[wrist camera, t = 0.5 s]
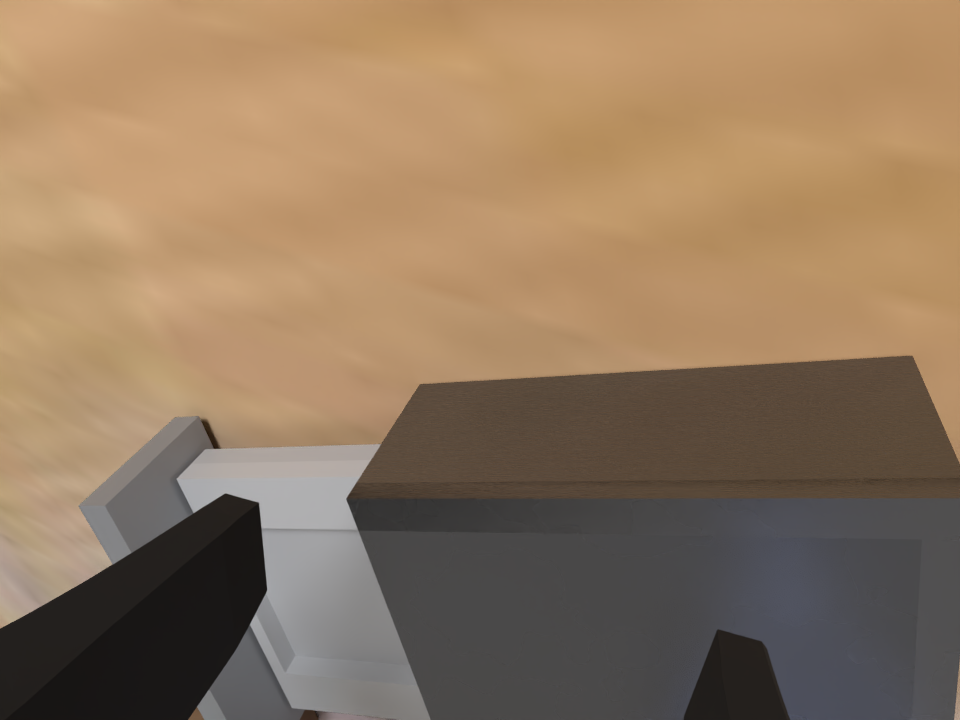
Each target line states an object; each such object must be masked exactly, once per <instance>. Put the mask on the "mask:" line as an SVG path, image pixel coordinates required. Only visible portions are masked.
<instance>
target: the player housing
mask: <svg viewBox="0 0 960 720" xmlns="http://www.w3.org/2000/svg"><path fill="white" fill-rule="evenodd" d="M346 500H347V503H348V505H349V508H350V510H351V513H352V516H353V518H354V521H355V523H356V526H357V529H358V531H359V534H360V536H361V539H362V542H363V544H364V547H365V550H366V552H367V555H368V557H369V560H370V563H371V565H372V568H373V570H374V573H375V576H376V578H377V581H378V583H379V586H380V589H381V591H382V594H383V597H384V599H385V602H386V604H387V607H388V610H389V612H390V615H391V617H392V620H393V623H394V625H395V628H396V630H397V633H398V636H399V638H400V641H401V643H402V646H403V649H404V651H405V654H406V657H407V659H408V662H409V664H410V667H411V670H412V672H413V675H414V677H415V680H416V683H417V685H418V688H419V690H420V693H421V696H422V698H423V701H424V703H425V706H426V709H427V711H428V714H429V717H430V719H431V720H684V714H685V712H686V709H687V707H688V704H689V701H690V699H691V696H692V694H693V691H694V688H695V686H696V683H697V681H698V678H699V675H700V673H701V670H702V668H703V665H704V662H705V660H706V657H707V655H708V652H709V650H710V647H711V644H712V642H713V639H714V637H715V634H716V631H717V629H719V630H723V631H726V632H730V633H734V634H737V635H741V636H745V637H748V638H752V639H755V640H759V641H762V642H763V644H764V645H765V647H766V648H767V650H768V654H769V657H770V660H771V664H772V667H773V670H774V673H775V676H776V680H777V683H778V686H779V689H780V692H781V695H782V698H783V701H784V703H785V706H786V709H787V712H788V715H789V718H790V720H954V714H955V703H956V692H957V682H958V671H959V660H960V464H959V461H958V459H957V457H956V455H955V452H954V450H953V448H952V445H951V443H950V441H949V439H948V436H947V434H946V432H945V429H944V427H943V425H942V422H941V420H940V418H939V416H938V413H937V411H936V409H935V406H934V404H933V402H932V400H931V397H930V395H929V393H928V390H927V388H926V386H925V383H924V381H923V379H922V377H921V374H920V372H919V370H918V367H917V365H916V363H915V361H914V358H913V356H901V357H884V358H867V359H850V360H832V361H815V362H798V363H781V364H764V365H747V366H729V367H712V368H695V369H678V370H661V371H643V372H626V373H609V374H592V375H575V376H557V377H540V378H523V379H506V380H489V381H472V382H454V383H437V384H420V385H419V387H418V388H417V390H416V391H415V393H414V394H413V396H412V397H411V399H410V400H409V402H408V404H407V405H406V407H405V408H404V410H403V411H402V413H401V414H400V416H399V417H398V419H397V421H396V422H395V424H394V425H393V427H392V428H391V430H390V431H389V433H388V435H387V436H386V438H385V439H384V441H383V442H382V444H381V445H380V447H379V448H378V450H377V452H376V453H375V455H374V456H373V458H372V459H371V461H370V462H369V464H368V465H367V467H366V469H365V470H364V472H363V473H362V475H361V476H360V478H359V479H358V481H357V482H356V484H355V486H354V487H353V489H352V490H351V492H350V493H349V495H348V496H347V498H346Z"/></svg>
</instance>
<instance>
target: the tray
mask: <svg viewBox="0 0 960 720" xmlns="http://www.w3.org/2000/svg"><path fill="white" fill-rule="evenodd" d="M380 445H381V444H371V445H336V446H301V447H266V448H231V449H214V448H213V446H212V444H211V441H210V439H209V437H208V435H207V433H206V431H205V429H204V426H203V424H202V422H201V420H200V418H199V416H194V417H175V418H174V419H173V420H172V421H171V422H169V423H168V424H167V425H166V426H165V427H164V428H163V429H162V430H161V431H160V432H159V433H157V434H156V435H155V436H154V437H153V438H152V439H151V440H150V441H149V442H148V443H146V444H145V445H144V446H143V447H142V448H141V449H140V450H139V451H138V452H137V453H136V454H134V455H133V456H132V457H131V458H130V459H129V460H128V461H127V462H126V463H125V464H124V465H122V466H121V467H120V468H119V469H118V470H117V471H116V472H115V473H114V474H113V475H111V476H110V477H109V478H108V479H107V480H106V481H105V482H104V483H103V484H102V485H101V486H99V487H98V488H97V489H96V490H95V491H94V492H93V493H92V494H91V495H90V496H89V497H87V498H86V499H85V500H84V501H83V502H82V503H81V504H80V505H79V508H80V509H81V511H82V513H83V514H84V516H85V518H86V520H87V521H88V523H89V525H90V526H91V528H92V530H93V531H94V533H95V535H96V536H97V538H98V540H99V542H100V543H101V545H102V547H103V548H104V550H105V552H106V553H107V555H108V557H109V559H110V560H111V562H112V564H114V563H116V562H118V561H119V560H121V559H122V558H124V557H126V556H127V555H129V554H130V553H132V552H134V551H135V550H137V549H139V548H140V547H142V546H143V545H145V544H146V543H148V542H150V541H151V540H153V539H154V538H156V537H157V536H159V535H160V534H162V533H164V532H165V531H167V530H168V529H170V528H171V527H173V526H174V525H176V524H178V523H179V522H181V521H182V520H184V519H185V518H187V517H188V516H190V515H192V514H193V513H195V512H196V511H198V510H199V509H201V508H203V507H204V506H206V505H207V504H209V503H211V502H212V501H214V500H215V499H217V498H219V497H220V496H222V495H223V494H225V493H226V494H230V495H233V496H237V497H240V498H244V499H248V500H251V501H255V502H259V507H260V517H261V528H262V539H263V549H264V560H265V571H266V581H267V592H266V594H265V596H264V598H263V600H262V602H261V604H260V606H259V608H258V610H257V612H256V614H255V616H254V618H253V620H252V622H251V624H250V625H249V627H248V629H247V631H246V633H245V634H244V636H243V638H242V640H241V642H240V644H239V645H238V647H237V649H236V651H235V652H234V654H233V655H232V657H231V658H230V660H229V661H228V663H227V664H226V665H225V667H224V668H223V670H222V671H221V673H220V674H219V676H218V677H217V679H216V680H215V682H214V683H213V684H212V686H211V687H210V689H209V690H208V692H207V693H206V695H205V696H204V698H203V699H202V700H201V702H200V703H199V705H198V706H197V708H198V710H199V711H200V713H201V715H202V716H203V718H204V720H300V718H301V716H302V714H303V712H304V711H305V709H306V710H315V711H324V712H333V713H341V714H350V715H359V716H368V717H377V718H386V719H395V720H431V719H430V717H429V714H428V711H427V709H426V706H425V703H424V701H423V698H422V696H421V693H420V690H419V688H418V685H417V683H416V680H415V677H414V675H413V672H412V670H411V667H410V664H409V662H408V659H407V657H406V654H405V651H404V649H403V646H402V643H401V641H400V638H399V636H398V633H397V630H396V628H395V625H394V623H393V620H392V617H391V615H390V612H389V610H388V607H387V604H386V602H385V599H384V597H383V594H382V591H381V589H380V586H379V583H378V581H377V578H376V576H375V573H374V570H373V568H372V565H371V563H370V560H369V557H368V555H367V552H366V550H365V547H364V544H363V542H362V539H361V536H360V534H359V531H358V529H357V526H356V523H355V521H354V518H353V516H352V513H351V510H350V508H349V505H348V503H347V500H346V498H347V496H348V495H349V493H350V492H351V490H352V489H353V487H354V486H355V484H356V482H357V481H358V479H359V478H360V476H361V475H362V473H363V472H364V470H365V469H366V467H367V465H368V464H369V462H370V461H371V459H372V458H373V456H374V455H375V453H376V452H377V450H378V448H379V447H380Z"/></svg>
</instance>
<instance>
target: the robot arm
mask: <svg viewBox="0 0 960 720" xmlns="http://www.w3.org/2000/svg"><path fill="white" fill-rule="evenodd" d="M266 592H267V581H266V571H265V560H264V549H263V539H262V528H261V517H260V507H259V502H255V501H251V500H248V499H244V498H240V497H237V496H233V495H230V494H226V493H225V494H223V495H222V496H220V497H219V498H217V499H215V500H214V501H212V502H211V503H209V504H207V505H206V506H204V507H203V508H201V509H199V510H198V511H196V512H195V513H193V514H192V515H190V516H188V517H187V518H185V519H184V520H182V521H181V522H179V523H178V524H176V525H174V526H173V527H171V528H170V529H168V530H167V531H165V532H164V533H162V534H160V535H159V536H157V537H156V538H154V539H153V540H151V541H150V542H148V543H146V544H145V545H143V546H142V547H140V548H139V549H137V550H135V551H134V552H132V553H130V554H129V555H127V556H126V557H124V558H122V559H121V560H119V561H118V562H116V563H114V564H113V565H111V566H109V567H108V568H106V569H105V570H103V571H101V572H100V573H98V574H97V575H95V576H93V577H92V578H90V579H88V580H87V581H85V582H83V583H82V584H80V585H78V586H76V587H74V588H73V589H71V590H69V591H67V592H66V593H64V594H62V595H60V596H59V597H57V598H55V599H53V600H52V601H50V602H48V603H46V604H45V605H43V606H41V607H39V608H38V609H36V610H34V611H32V612H31V613H29V614H27V615H25V616H23V617H21V618H20V619H18V620H16V621H14V622H12V623H10V624H8V625H6V626H4V627H3V628H1V629H0V720H188V719H189V718H190V716H191V715H192V713H193V712H194V711H195V709H196V708H197V706H198V705H199V703H200V702H201V700H202V699H203V698H204V696H205V695H206V693H207V692H208V690H209V689H210V687H211V686H212V684H213V683H214V682H215V680H216V679H217V677H218V676H219V674H220V673H221V671H222V670H223V668H224V667H225V665H226V664H227V663H228V661H229V660H230V658H231V657H232V655H233V654H234V652H235V651H236V649H237V647H238V645H239V644H240V642H241V640H242V638H243V636H244V634H245V633H246V631H247V629H248V627H249V625H250V624H251V622H252V620H253V618H254V616H255V614H256V612H257V610H258V608H259V606H260V604H261V602H262V600H263V598H264V596H265V594H266ZM684 720H790V718H789V715H788V712H787V709H786V706H785V703H784V701H783V698H782V695H781V692H780V689H779V686H778V683H777V680H776V676H775V673H774V670H773V667H772V664H771V660H770V657H769V654H768V650H767V648H766V647H765V645H764V644H763V642H762V641H759V640H755V639H752V638H748V637H745V636H741V635H737V634H734V633H730V632H726V631H723V630H719V629H717V631H716V634H715V637H714V639H713V642H712V644H711V647H710V650H709V652H708V655H707V657H706V660H705V662H704V665H703V668H702V670H701V673H700V675H699V678H698V681H697V683H696V686H695V688H694V691H693V694H692V696H691V699H690V701H689V704H688V707H687V709H686V712H685V714H684Z"/></svg>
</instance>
